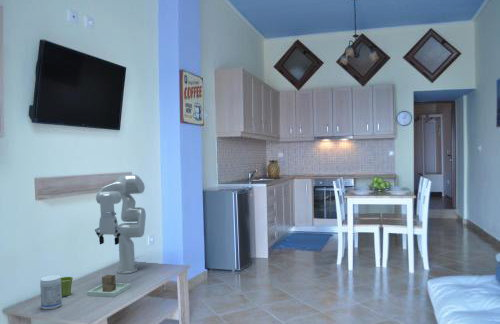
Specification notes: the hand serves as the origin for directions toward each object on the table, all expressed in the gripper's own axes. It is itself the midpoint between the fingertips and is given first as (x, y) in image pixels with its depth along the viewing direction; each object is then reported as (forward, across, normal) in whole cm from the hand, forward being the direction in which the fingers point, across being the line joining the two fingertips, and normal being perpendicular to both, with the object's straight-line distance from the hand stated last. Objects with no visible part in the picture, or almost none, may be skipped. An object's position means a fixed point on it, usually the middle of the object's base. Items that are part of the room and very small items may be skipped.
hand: (109, 243), depth 238 cm
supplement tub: (+24, +12, +35) cm, 44 cm away
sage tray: (+24, -4, +9) cm, 26 cm away
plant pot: (+25, +18, +18) cm, 35 cm away
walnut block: (+24, -4, +9) cm, 26 cm away
